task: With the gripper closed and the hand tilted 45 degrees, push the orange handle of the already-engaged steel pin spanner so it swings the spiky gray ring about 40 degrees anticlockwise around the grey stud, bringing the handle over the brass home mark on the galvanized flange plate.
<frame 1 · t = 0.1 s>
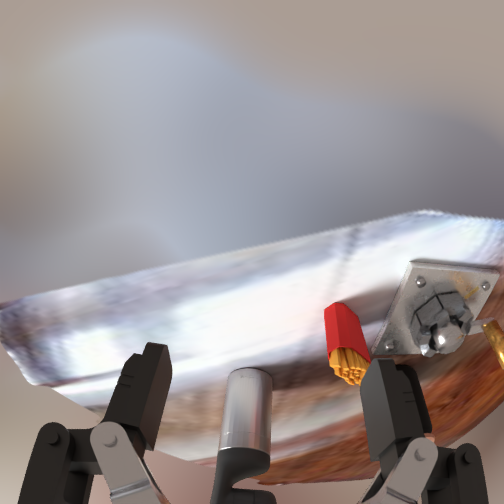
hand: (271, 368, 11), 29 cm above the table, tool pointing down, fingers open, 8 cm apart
flange plate: (435, 311, 48), on the table
coffee jar: (392, 376, 59), on the table
spiky gray ring: (466, 342, 41), point 8 cm above the table, hinge at 0.0°
french fries: (342, 316, 49), on the table
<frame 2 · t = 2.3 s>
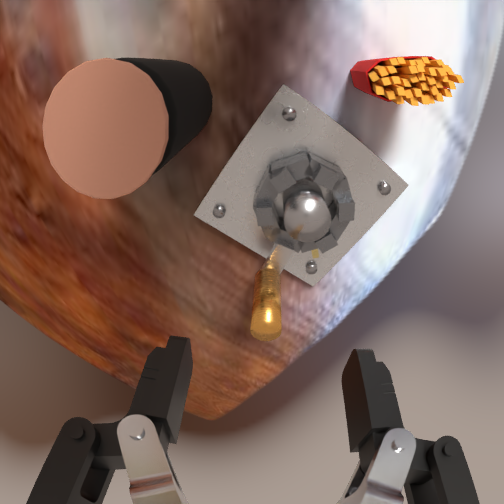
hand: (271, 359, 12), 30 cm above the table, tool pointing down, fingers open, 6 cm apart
flange plate: (301, 193, 39), on the table
coffee jar: (171, 102, 34), on the table
spiky gray ring: (294, 245, 34), point 8 cm above the table, hinge at 0.0°
french fries: (375, 75, 30), on the table
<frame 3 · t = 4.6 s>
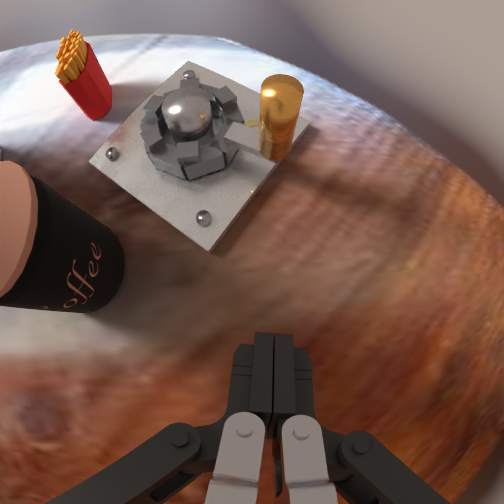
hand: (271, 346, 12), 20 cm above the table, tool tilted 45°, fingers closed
flange plate: (196, 142, 36), on the table
coffee jar: (89, 268, 33), on the table
spiky gray ring: (210, 109, 28), point 8 cm above the table, hinge at 0.0°
french fries: (100, 103, 38), on the table
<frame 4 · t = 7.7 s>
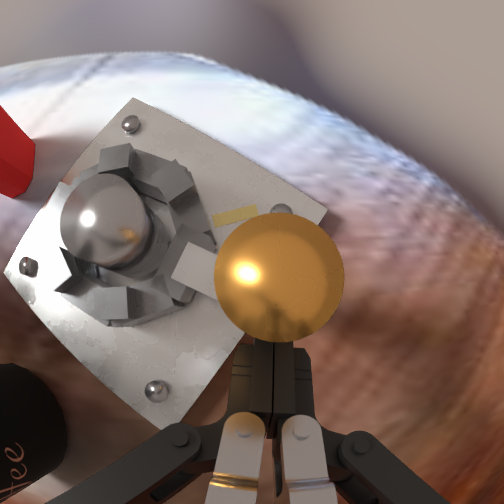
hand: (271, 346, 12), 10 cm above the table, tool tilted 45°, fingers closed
flange plate: (142, 248, 23), on the table
coffee jar: (30, 416, 20), on the table
spiky gray ring: (135, 234, 15), point 8 cm above the table, hinge at 0.5°, touching gripper
french fries: (21, 170, 25), on the table
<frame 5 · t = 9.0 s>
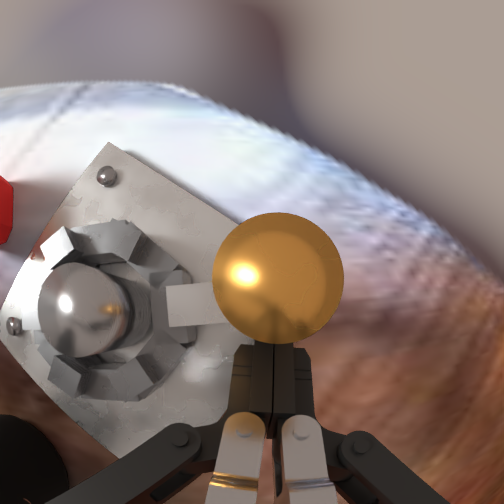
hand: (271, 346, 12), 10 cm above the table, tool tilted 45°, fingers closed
flange plate: (126, 313, 22), on the table
coffee jar: (32, 460, 19), on the table
spiky gray ring: (117, 307, 14), point 8 cm above the table, hinge at 30.1°, touching gripper
french fries: (1, 216, 24), on the table
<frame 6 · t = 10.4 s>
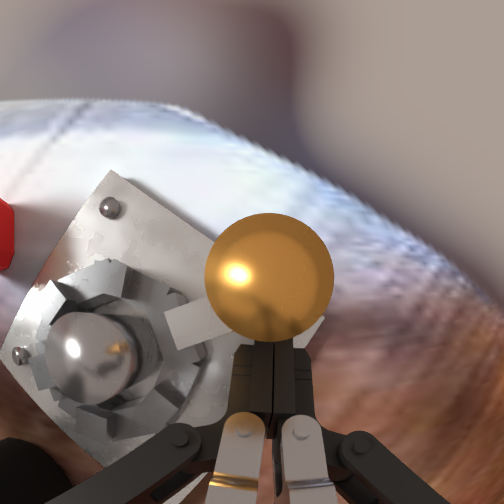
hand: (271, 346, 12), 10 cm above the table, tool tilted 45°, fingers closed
flange plate: (132, 348, 21), on the table
coffee jar: (39, 480, 18), on the table
spiky gray ring: (123, 344, 13), point 8 cm above the table, hinge at 46.0°, touching gripper
french fries: (2, 240, 23), on the table
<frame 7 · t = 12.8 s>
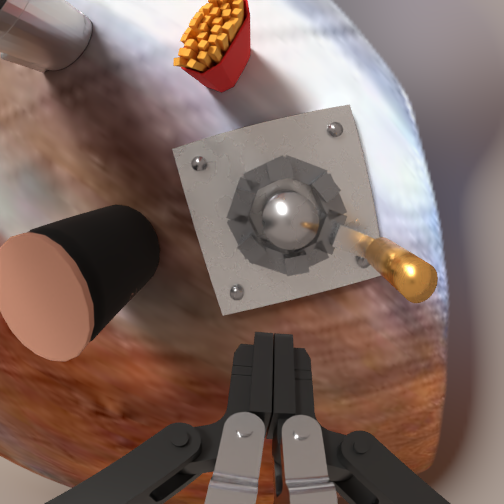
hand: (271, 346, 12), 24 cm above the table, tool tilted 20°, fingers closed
flange plate: (284, 210, 35), on the table
coffee jar: (124, 245, 37), on the table
spiky gray ring: (323, 234, 27), point 8 cm above the table, hinge at 46.0°
french fries: (226, 67, 31), on the table
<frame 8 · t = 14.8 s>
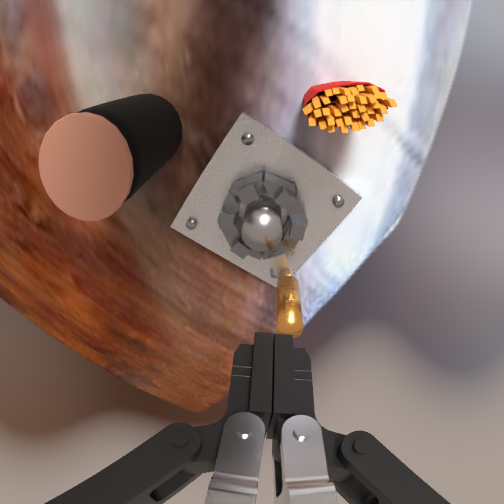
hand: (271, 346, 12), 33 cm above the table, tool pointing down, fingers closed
flange plate: (263, 206, 45), on the table
coffee jar: (148, 129, 39), on the table
spiky gray ring: (270, 255, 39), point 8 cm above the table, hinge at 46.0°
french fries: (328, 98, 36), on the table
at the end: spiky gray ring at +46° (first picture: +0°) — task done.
